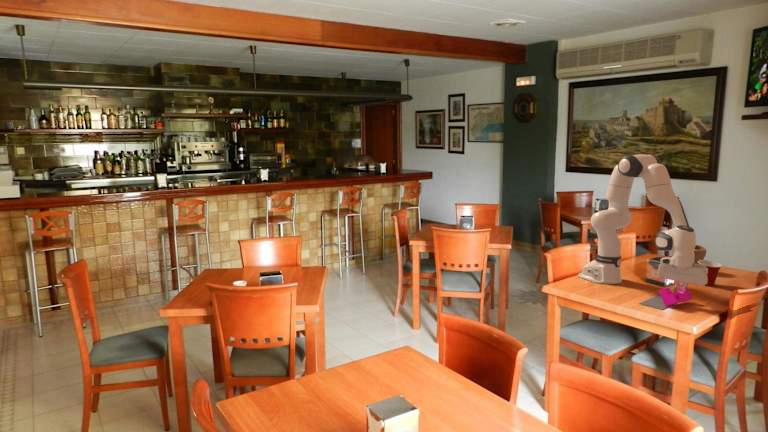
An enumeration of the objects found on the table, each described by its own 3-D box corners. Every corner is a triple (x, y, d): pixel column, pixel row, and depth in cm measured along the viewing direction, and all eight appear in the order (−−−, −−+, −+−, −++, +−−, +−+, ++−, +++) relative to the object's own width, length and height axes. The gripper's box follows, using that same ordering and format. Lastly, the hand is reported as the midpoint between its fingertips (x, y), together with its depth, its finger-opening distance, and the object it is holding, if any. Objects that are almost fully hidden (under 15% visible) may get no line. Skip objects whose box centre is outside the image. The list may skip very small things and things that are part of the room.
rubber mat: (639, 303, 235) (639, 303, 235) (663, 293, 249) (663, 292, 249) (662, 310, 227) (662, 309, 227) (685, 298, 241) (685, 298, 241)
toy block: (676, 302, 226) (669, 286, 228) (665, 306, 231) (658, 290, 233) (697, 297, 232) (690, 282, 234) (686, 301, 237) (679, 285, 240)
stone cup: (698, 275, 279) (700, 249, 277) (676, 270, 289) (678, 245, 287) (711, 270, 288) (713, 245, 285) (689, 266, 297) (691, 241, 295)
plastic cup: (715, 289, 255) (718, 266, 253) (692, 284, 263) (694, 262, 261) (723, 285, 261) (725, 262, 259) (700, 280, 270) (702, 258, 268)
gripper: (711, 264, 223) (709, 294, 225) (663, 256, 239) (661, 284, 241) (705, 266, 219) (703, 297, 221) (656, 258, 235) (655, 287, 237)
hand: (681, 290), depth 231 cm, fingers closed, pressing on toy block
